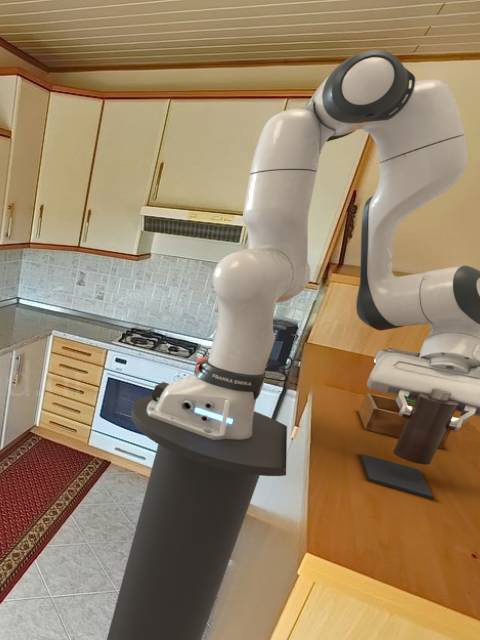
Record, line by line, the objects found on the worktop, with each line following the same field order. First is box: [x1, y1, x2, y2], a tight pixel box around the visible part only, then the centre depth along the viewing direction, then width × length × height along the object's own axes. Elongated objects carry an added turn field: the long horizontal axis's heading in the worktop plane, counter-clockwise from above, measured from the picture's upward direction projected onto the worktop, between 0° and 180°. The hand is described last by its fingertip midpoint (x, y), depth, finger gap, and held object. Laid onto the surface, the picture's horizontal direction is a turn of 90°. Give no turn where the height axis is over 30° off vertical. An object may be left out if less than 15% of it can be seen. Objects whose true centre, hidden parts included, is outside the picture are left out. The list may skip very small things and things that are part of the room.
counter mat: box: [360, 453, 435, 500], centre depth 90 cm, size 9×12×1 cm
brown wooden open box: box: [358, 392, 452, 450], centre depth 113 cm, size 14×14×5 cm
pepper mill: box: [393, 388, 458, 466], centre depth 86 cm, size 5×5×13 cm
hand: (428, 422), depth 85 cm, fingers closed on pepper mill, 5 cm apart
